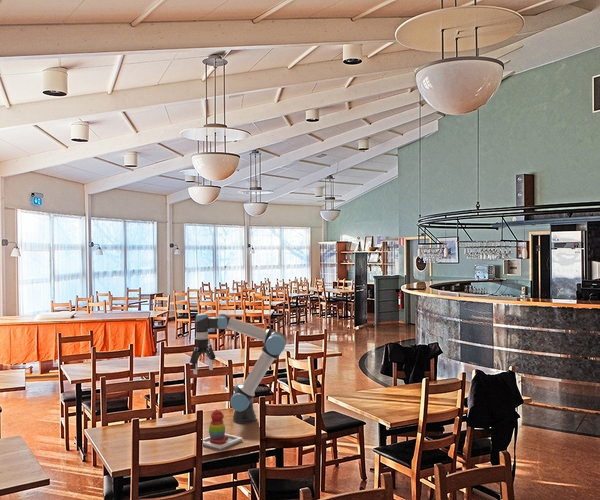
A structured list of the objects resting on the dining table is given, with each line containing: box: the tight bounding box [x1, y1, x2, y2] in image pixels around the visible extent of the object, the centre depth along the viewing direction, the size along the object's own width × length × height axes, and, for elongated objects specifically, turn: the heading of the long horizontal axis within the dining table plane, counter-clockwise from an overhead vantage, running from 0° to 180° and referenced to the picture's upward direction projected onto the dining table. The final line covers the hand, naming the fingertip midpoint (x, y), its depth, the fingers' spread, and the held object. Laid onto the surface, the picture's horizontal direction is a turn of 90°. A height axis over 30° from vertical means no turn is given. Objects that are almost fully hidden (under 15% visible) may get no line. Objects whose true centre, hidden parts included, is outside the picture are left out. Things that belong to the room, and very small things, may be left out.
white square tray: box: [202, 433, 243, 451], centre depth 339 cm, size 18×18×2 cm
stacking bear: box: [208, 409, 228, 444], centre depth 339 cm, size 11×10×18 cm
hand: (203, 372), depth 370 cm, fingers open, 13 cm apart
